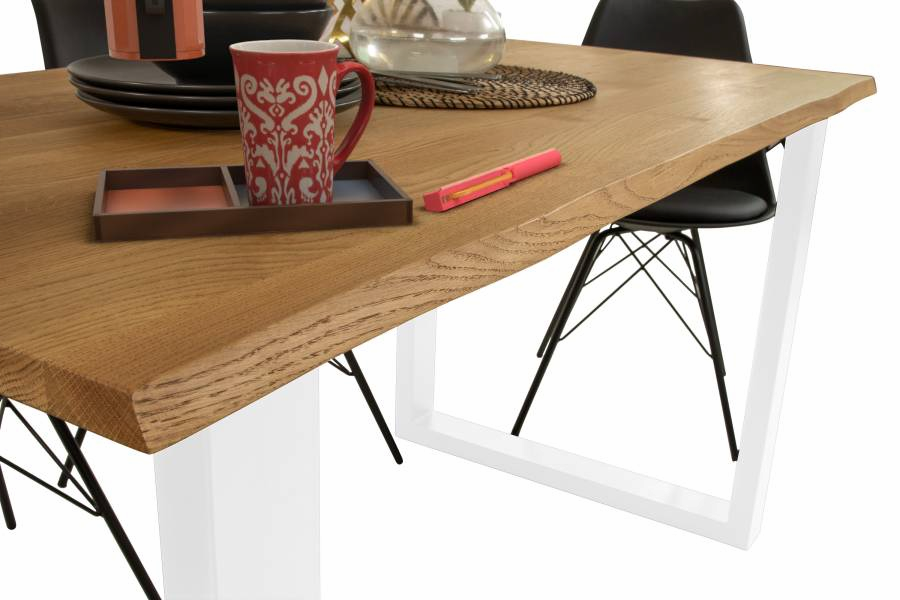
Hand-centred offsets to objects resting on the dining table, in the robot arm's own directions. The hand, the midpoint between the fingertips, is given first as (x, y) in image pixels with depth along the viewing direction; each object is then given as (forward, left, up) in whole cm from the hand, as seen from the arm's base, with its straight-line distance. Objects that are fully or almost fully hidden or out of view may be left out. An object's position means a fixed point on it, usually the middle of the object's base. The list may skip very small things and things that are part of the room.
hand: (157, 52), depth 81 cm
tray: (+7, 0, -14) cm, 15 cm away
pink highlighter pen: (+31, +4, -14) cm, 34 cm away
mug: (+12, 0, -13) cm, 18 cm away
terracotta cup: (0, 0, 0) cm, 0 cm away
